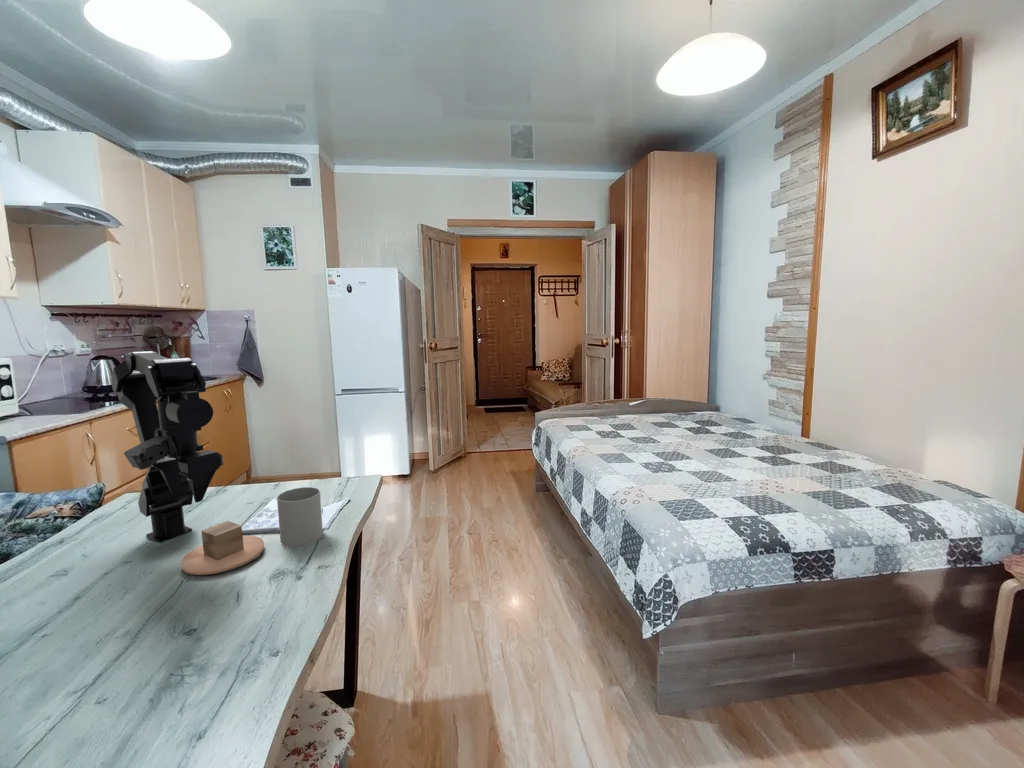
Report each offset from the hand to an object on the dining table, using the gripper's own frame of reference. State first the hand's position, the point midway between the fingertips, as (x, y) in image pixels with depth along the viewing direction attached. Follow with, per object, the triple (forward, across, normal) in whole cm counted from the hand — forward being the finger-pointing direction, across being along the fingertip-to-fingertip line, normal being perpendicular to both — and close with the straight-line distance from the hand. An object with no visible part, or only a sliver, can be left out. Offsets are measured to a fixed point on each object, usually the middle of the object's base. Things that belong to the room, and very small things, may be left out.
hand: (186, 497), depth 90 cm
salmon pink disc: (+12, +8, +2) cm, 15 cm away
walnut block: (+11, +8, +2) cm, 13 cm away
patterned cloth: (+13, +3, +22) cm, 26 cm away
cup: (+12, +14, +15) cm, 24 cm away
